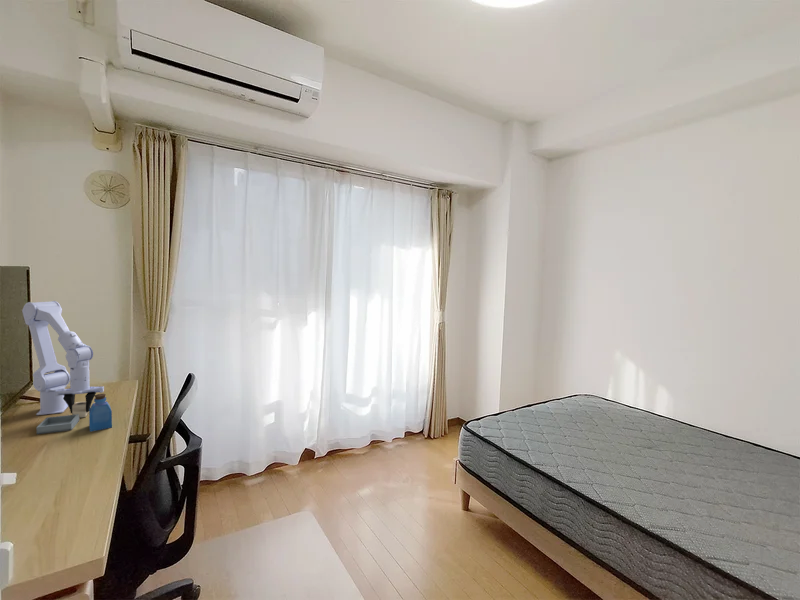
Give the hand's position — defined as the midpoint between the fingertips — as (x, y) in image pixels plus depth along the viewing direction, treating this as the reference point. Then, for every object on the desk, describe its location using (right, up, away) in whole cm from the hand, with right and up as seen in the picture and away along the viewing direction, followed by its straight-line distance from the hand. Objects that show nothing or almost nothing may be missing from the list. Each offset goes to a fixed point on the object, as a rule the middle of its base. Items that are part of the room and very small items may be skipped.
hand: (80, 411), depth 147 cm
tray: (+1, -3, -10) cm, 10 cm away
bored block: (0, -2, 0) cm, 2 cm away
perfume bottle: (+14, -3, -8) cm, 17 cm away
